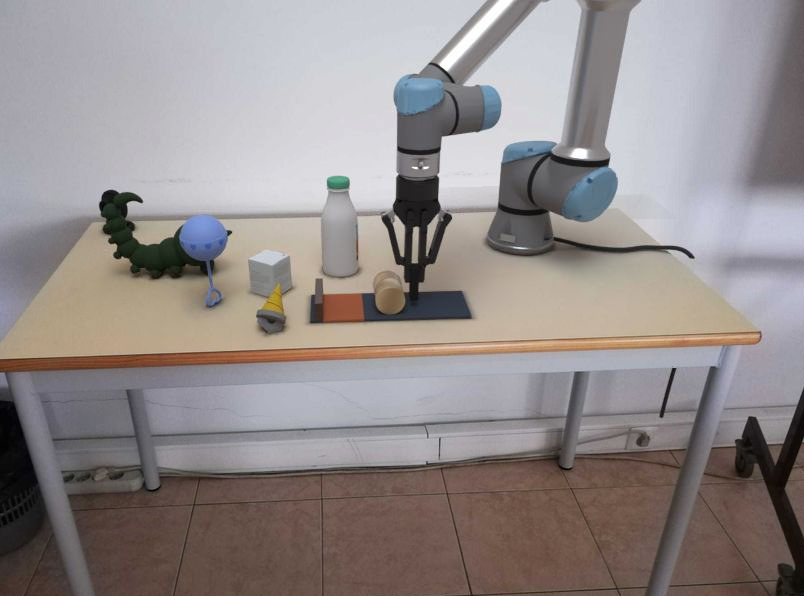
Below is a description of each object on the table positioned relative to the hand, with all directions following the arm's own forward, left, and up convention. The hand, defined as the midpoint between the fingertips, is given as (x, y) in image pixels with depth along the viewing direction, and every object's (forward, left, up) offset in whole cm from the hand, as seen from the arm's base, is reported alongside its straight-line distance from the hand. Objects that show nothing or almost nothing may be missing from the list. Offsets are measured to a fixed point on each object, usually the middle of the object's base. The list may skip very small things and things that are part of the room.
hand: (413, 297), depth 130 cm
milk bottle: (+14, -18, -2) cm, 23 cm away
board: (+5, 0, -2) cm, 5 cm away
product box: (+28, -9, -2) cm, 29 cm away
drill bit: (+27, +6, -2) cm, 27 cm away
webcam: (+68, -46, -2) cm, 82 cm away
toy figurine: (+49, -19, -2) cm, 52 cm away
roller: (+5, 0, +1) cm, 5 cm away
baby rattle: (+39, -3, -2) cm, 39 cm away
